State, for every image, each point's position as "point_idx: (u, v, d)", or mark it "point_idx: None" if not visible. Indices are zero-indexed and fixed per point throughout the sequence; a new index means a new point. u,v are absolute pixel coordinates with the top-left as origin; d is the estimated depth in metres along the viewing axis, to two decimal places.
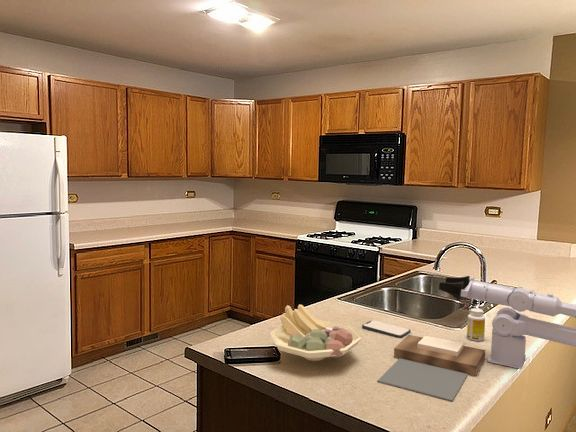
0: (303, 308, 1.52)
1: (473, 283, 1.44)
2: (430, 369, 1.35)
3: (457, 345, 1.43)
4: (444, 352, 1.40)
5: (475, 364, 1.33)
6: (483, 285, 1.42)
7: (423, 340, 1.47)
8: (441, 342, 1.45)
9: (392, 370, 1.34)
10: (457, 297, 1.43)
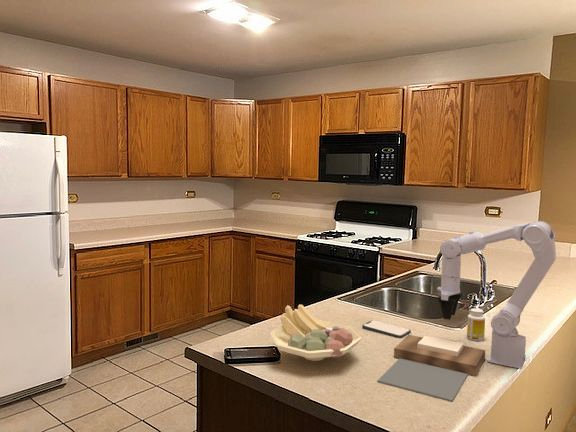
0: (303, 308, 1.52)
1: (441, 288, 1.51)
2: (430, 369, 1.35)
3: (457, 345, 1.43)
4: (444, 352, 1.40)
5: (475, 364, 1.33)
6: (442, 279, 1.50)
7: (423, 340, 1.47)
8: (441, 342, 1.45)
9: (392, 370, 1.34)
10: (452, 302, 1.46)
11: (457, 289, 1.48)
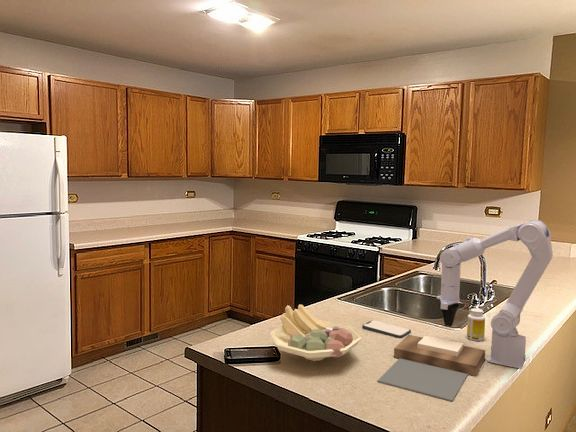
0: (303, 308, 1.52)
1: (441, 296, 1.51)
2: (430, 369, 1.35)
3: (457, 345, 1.43)
4: (444, 352, 1.40)
5: (475, 364, 1.33)
6: (441, 288, 1.51)
7: (423, 340, 1.47)
8: (441, 342, 1.45)
9: (392, 370, 1.34)
10: (453, 309, 1.48)
11: (457, 298, 1.49)
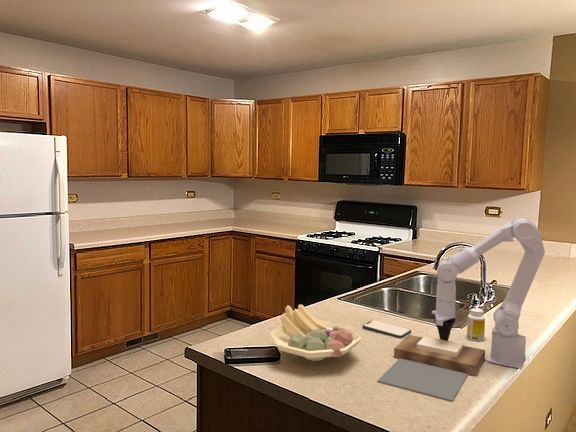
0: (303, 308, 1.52)
1: (436, 312, 1.47)
2: (430, 369, 1.35)
3: (456, 346, 1.42)
4: (443, 353, 1.40)
5: (475, 364, 1.33)
6: (436, 303, 1.47)
7: (422, 340, 1.46)
8: (440, 342, 1.45)
9: (392, 370, 1.34)
10: (449, 325, 1.44)
11: (452, 313, 1.45)
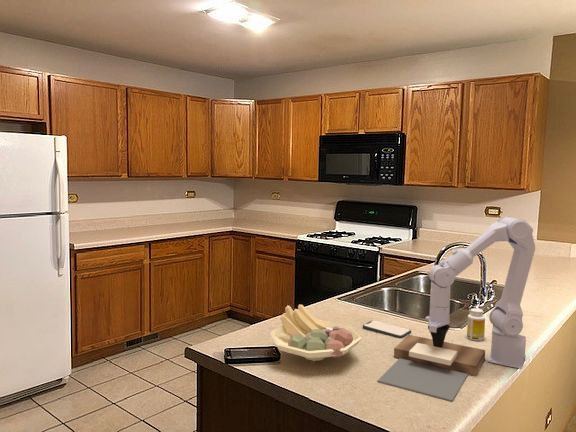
0: (303, 308, 1.52)
1: (430, 317, 1.41)
2: (430, 369, 1.35)
3: (450, 353, 1.36)
4: (436, 361, 1.34)
5: (475, 364, 1.33)
6: (430, 308, 1.41)
7: (415, 348, 1.41)
8: (434, 350, 1.39)
9: (392, 370, 1.34)
10: (443, 332, 1.39)
11: (446, 319, 1.39)
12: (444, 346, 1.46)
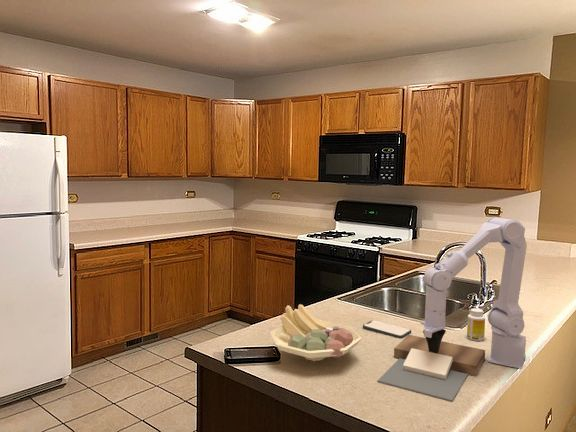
0: (303, 308, 1.52)
1: (425, 322, 1.37)
2: None
3: (445, 362, 1.33)
4: (431, 375, 1.31)
5: (475, 364, 1.33)
6: (425, 312, 1.37)
7: (409, 358, 1.37)
8: (428, 358, 1.35)
9: (392, 370, 1.34)
10: (438, 337, 1.34)
11: (442, 324, 1.35)
12: (444, 346, 1.46)
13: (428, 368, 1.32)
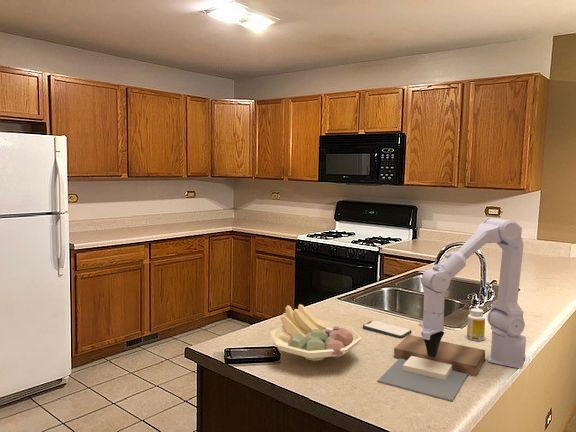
0: (303, 308, 1.52)
1: (423, 324, 1.35)
2: None
3: (445, 367, 1.33)
4: (431, 375, 1.30)
5: (475, 364, 1.33)
6: (423, 314, 1.35)
7: (409, 361, 1.37)
8: (428, 363, 1.36)
9: (392, 370, 1.34)
10: (437, 339, 1.33)
11: (440, 326, 1.33)
12: (444, 346, 1.46)
13: (428, 369, 1.32)
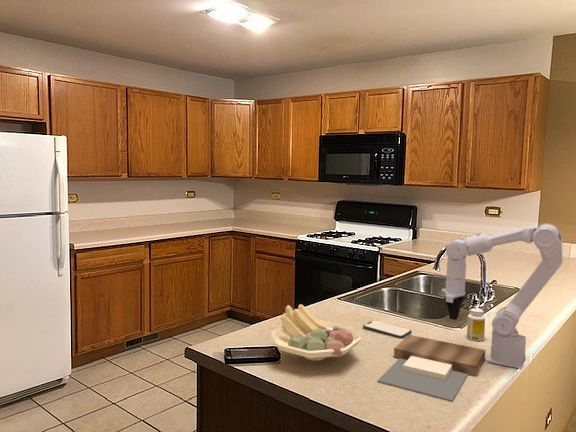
0: (303, 308, 1.52)
1: (446, 289, 1.48)
2: None
3: (445, 367, 1.33)
4: (431, 375, 1.30)
5: (475, 364, 1.33)
6: (446, 280, 1.48)
7: (409, 361, 1.37)
8: (428, 363, 1.36)
9: (392, 370, 1.34)
10: (459, 302, 1.46)
11: (462, 291, 1.46)
12: (444, 346, 1.46)
13: (428, 369, 1.32)
